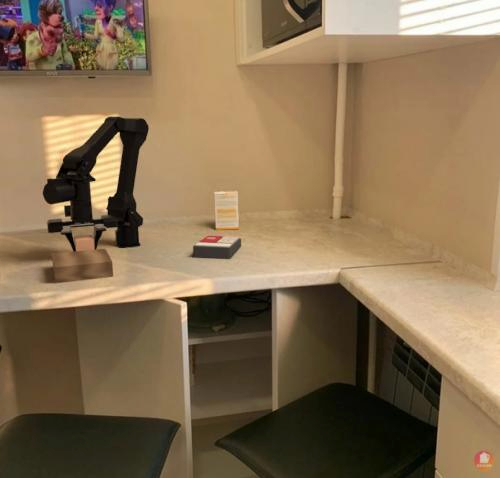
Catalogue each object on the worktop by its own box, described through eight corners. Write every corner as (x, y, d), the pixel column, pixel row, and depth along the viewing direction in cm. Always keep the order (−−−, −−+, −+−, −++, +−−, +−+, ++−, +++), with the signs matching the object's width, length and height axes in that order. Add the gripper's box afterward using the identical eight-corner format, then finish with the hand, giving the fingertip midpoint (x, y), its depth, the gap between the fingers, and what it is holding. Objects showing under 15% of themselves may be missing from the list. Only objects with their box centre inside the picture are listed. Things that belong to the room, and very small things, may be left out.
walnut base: (106, 262, 153) (105, 248, 152) (113, 276, 141) (112, 261, 140) (53, 268, 148) (51, 253, 148) (55, 283, 136) (53, 267, 135)
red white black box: (241, 235, 169) (230, 245, 155) (241, 249, 170) (230, 260, 155) (206, 234, 171) (192, 243, 157) (206, 248, 172) (192, 258, 158)
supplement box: (238, 226, 197) (237, 190, 194) (238, 229, 192) (238, 192, 189) (215, 227, 197) (214, 190, 194) (215, 230, 192) (214, 192, 189)
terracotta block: (93, 255, 161) (92, 235, 160) (95, 259, 157) (93, 238, 155) (75, 257, 159) (73, 236, 158) (77, 261, 155) (75, 240, 153)
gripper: (110, 192, 165) (114, 243, 168) (44, 197, 158) (49, 249, 162) (116, 198, 154) (119, 252, 158) (45, 203, 148) (50, 259, 152)
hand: (85, 253), depth 158 cm, fingers closed on terracotta block, 5 cm apart
